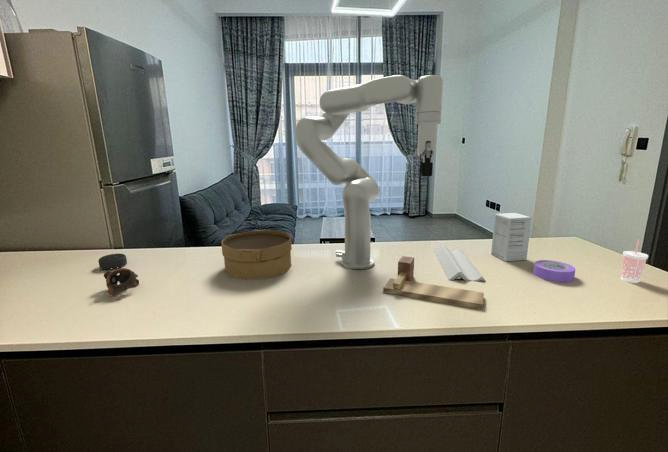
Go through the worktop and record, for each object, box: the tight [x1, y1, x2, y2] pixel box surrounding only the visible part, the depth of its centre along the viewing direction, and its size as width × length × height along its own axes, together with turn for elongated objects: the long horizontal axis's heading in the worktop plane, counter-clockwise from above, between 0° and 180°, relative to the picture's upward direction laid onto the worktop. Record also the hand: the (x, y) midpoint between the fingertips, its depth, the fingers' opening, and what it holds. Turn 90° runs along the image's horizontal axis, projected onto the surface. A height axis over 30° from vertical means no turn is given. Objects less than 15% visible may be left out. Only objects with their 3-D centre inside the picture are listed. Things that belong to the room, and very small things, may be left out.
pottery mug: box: [103, 267, 140, 297], centre depth 106 cm, size 12×10×8 cm
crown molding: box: [432, 243, 486, 282], centre depth 125 cm, size 31×12×4 cm, turn 173°
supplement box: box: [490, 212, 532, 262], centre depth 130 cm, size 10×9×17 cm
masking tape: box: [532, 259, 576, 283], centre depth 113 cm, size 12×12×4 cm
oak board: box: [382, 277, 485, 310], centre depth 101 cm, size 28×8×2 cm, turn 65°
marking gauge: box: [393, 255, 415, 289], centre depth 107 cm, size 4×16×7 cm, turn 155°
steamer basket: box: [221, 230, 293, 280], centre depth 124 cm, size 25×25×11 cm
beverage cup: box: [620, 238, 649, 284], centre depth 108 cm, size 6×6×14 cm
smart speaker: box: [97, 253, 128, 270], centre depth 128 cm, size 9×9×4 cm
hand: (425, 174), depth 108 cm, fingers open, 9 cm apart
